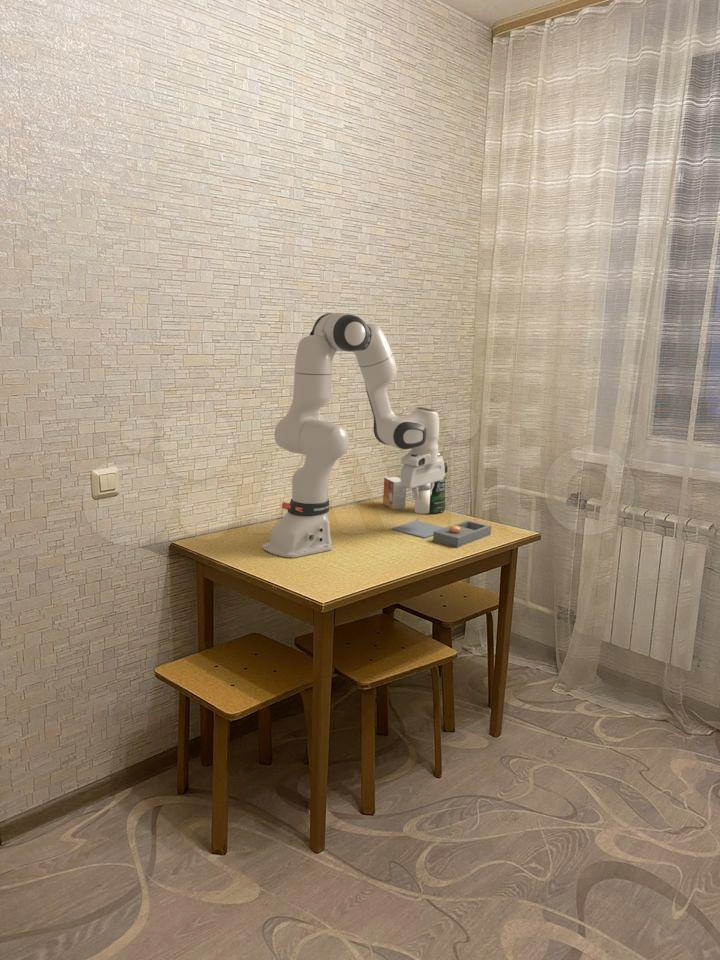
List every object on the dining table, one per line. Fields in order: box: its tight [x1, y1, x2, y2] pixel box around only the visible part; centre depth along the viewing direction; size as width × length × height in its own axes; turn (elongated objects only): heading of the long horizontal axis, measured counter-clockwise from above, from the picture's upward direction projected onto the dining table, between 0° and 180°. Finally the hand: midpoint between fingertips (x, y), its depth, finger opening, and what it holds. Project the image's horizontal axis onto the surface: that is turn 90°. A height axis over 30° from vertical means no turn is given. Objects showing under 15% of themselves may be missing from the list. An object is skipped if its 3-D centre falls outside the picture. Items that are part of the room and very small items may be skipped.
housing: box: [432, 519, 492, 548], centre depth 243 cm, size 20×9×3 cm, turn 139°
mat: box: [390, 519, 446, 539], centre depth 250 cm, size 14×14×1 cm
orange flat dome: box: [448, 524, 461, 533], centre depth 239 cm, size 4×4×1 cm
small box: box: [382, 476, 407, 510], centre depth 278 cm, size 8×6×10 cm
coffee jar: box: [428, 462, 449, 515], centre depth 272 cm, size 10×8×19 cm
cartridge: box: [413, 483, 431, 515], centre depth 248 cm, size 5×5×10 cm
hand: (422, 497), depth 248 cm, fingers closed on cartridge, 5 cm apart
